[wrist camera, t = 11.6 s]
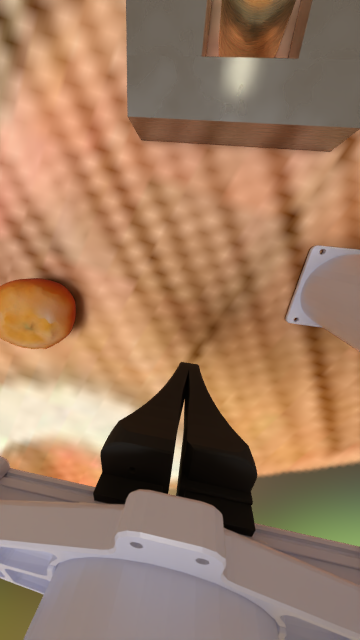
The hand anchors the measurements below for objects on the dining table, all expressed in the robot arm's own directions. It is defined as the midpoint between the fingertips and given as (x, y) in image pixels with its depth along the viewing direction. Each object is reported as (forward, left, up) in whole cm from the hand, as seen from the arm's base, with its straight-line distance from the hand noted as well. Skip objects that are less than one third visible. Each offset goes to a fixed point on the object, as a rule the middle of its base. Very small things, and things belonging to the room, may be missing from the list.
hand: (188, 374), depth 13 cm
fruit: (+18, 0, -10) cm, 20 cm away
